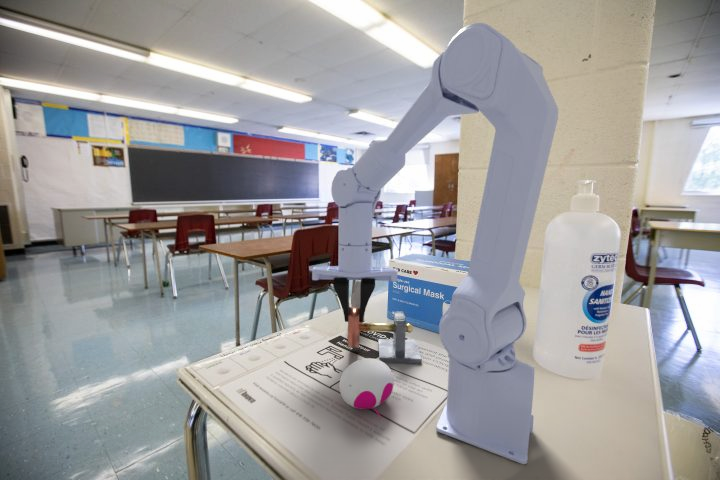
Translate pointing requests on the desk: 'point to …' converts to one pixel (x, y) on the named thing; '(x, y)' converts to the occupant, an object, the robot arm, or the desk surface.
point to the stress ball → (366, 383)
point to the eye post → (399, 345)
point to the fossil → (356, 296)
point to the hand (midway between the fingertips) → (354, 319)
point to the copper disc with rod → (366, 327)
